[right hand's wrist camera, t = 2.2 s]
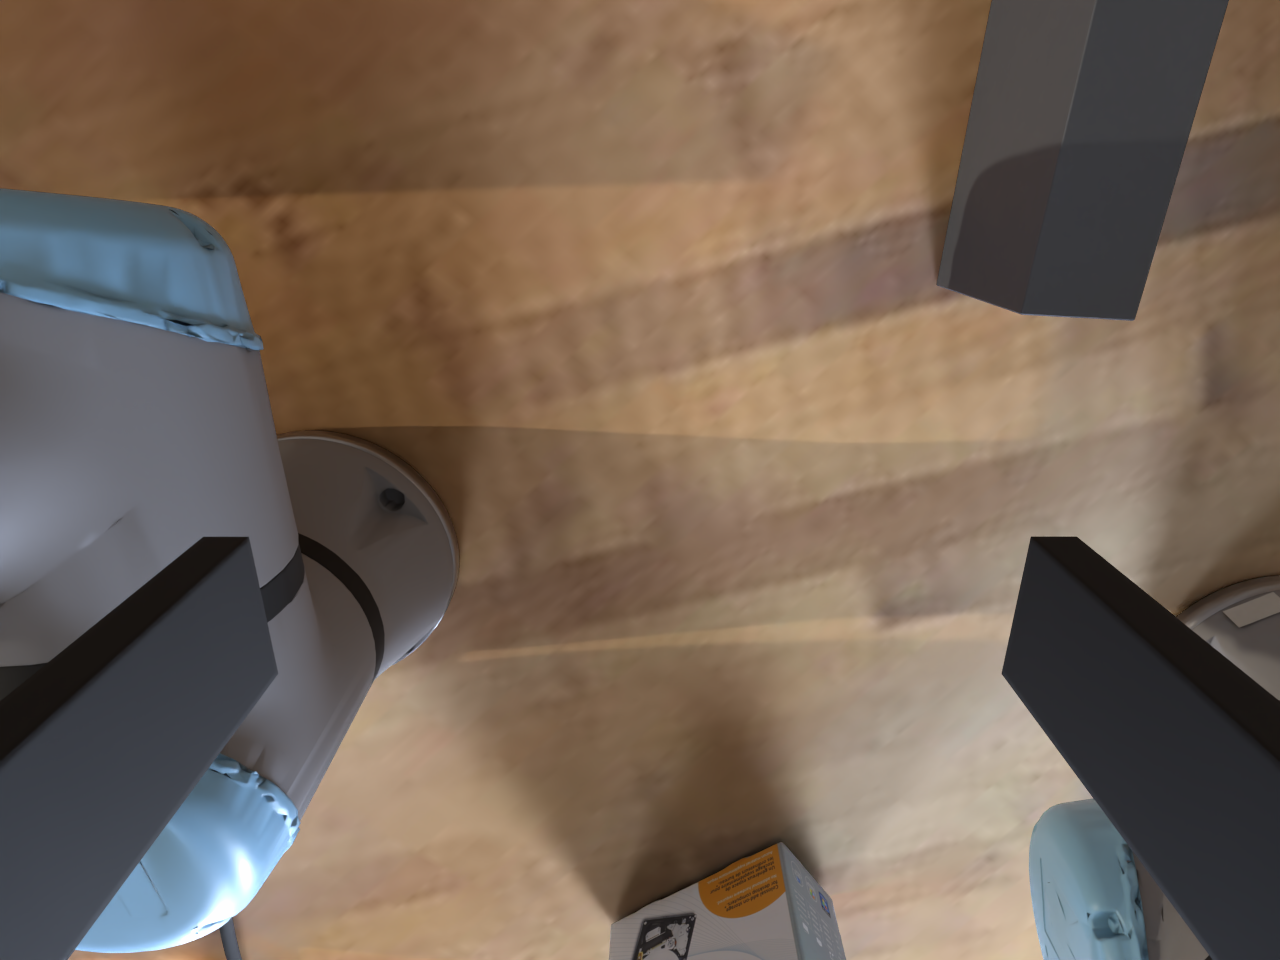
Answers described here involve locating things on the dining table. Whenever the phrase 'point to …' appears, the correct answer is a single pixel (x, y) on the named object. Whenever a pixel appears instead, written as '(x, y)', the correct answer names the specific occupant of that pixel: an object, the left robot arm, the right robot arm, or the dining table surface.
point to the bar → (1075, 151)
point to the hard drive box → (737, 917)
